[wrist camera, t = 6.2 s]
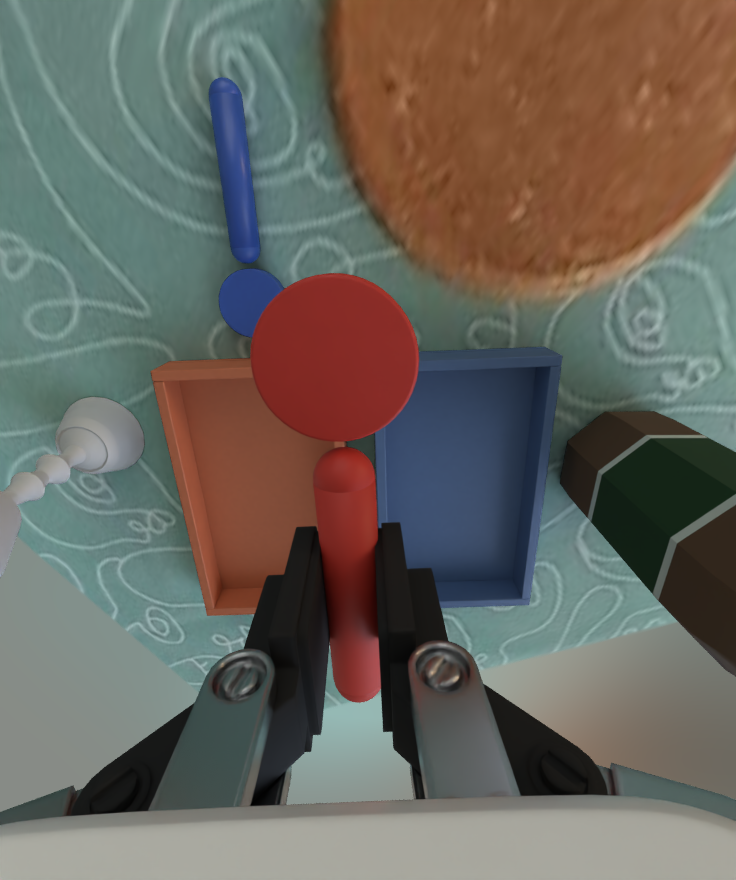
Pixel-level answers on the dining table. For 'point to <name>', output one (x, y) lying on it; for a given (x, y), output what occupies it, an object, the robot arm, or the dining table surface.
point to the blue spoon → (239, 212)
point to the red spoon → (340, 435)
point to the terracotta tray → (235, 477)
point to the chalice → (73, 458)
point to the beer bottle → (664, 515)
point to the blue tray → (471, 470)
